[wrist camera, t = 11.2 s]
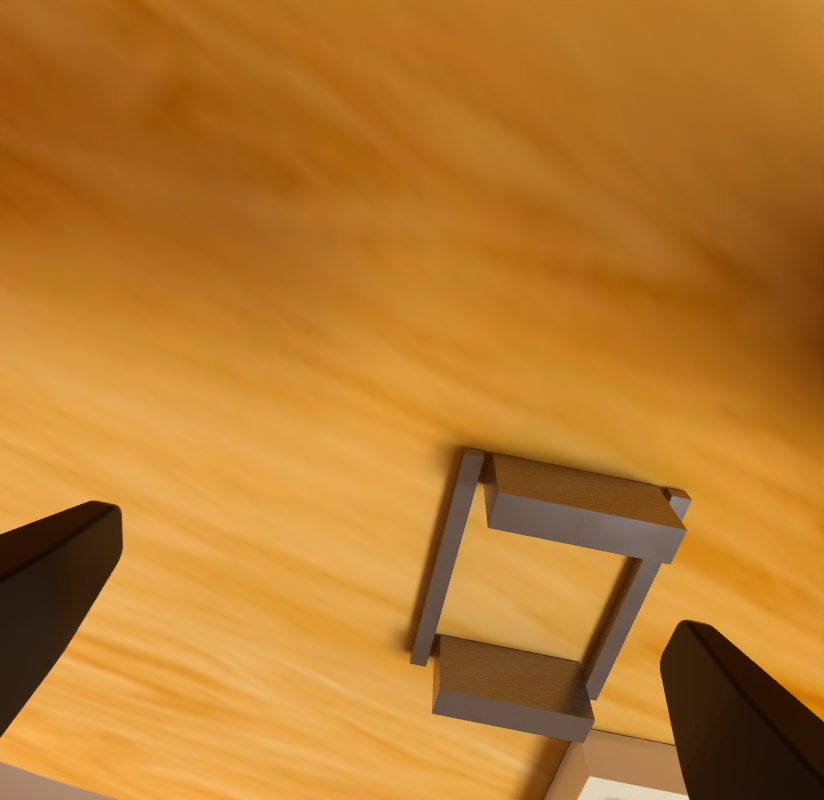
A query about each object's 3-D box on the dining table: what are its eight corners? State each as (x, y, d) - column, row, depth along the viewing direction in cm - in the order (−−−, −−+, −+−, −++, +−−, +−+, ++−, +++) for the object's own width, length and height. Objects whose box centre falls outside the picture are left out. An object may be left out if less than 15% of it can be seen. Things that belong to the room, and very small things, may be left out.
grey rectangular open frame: (685, 491, 22) (719, 536, 19) (593, 689, 27) (609, 748, 24) (464, 447, 22) (466, 485, 19) (410, 653, 27) (406, 708, 24)
